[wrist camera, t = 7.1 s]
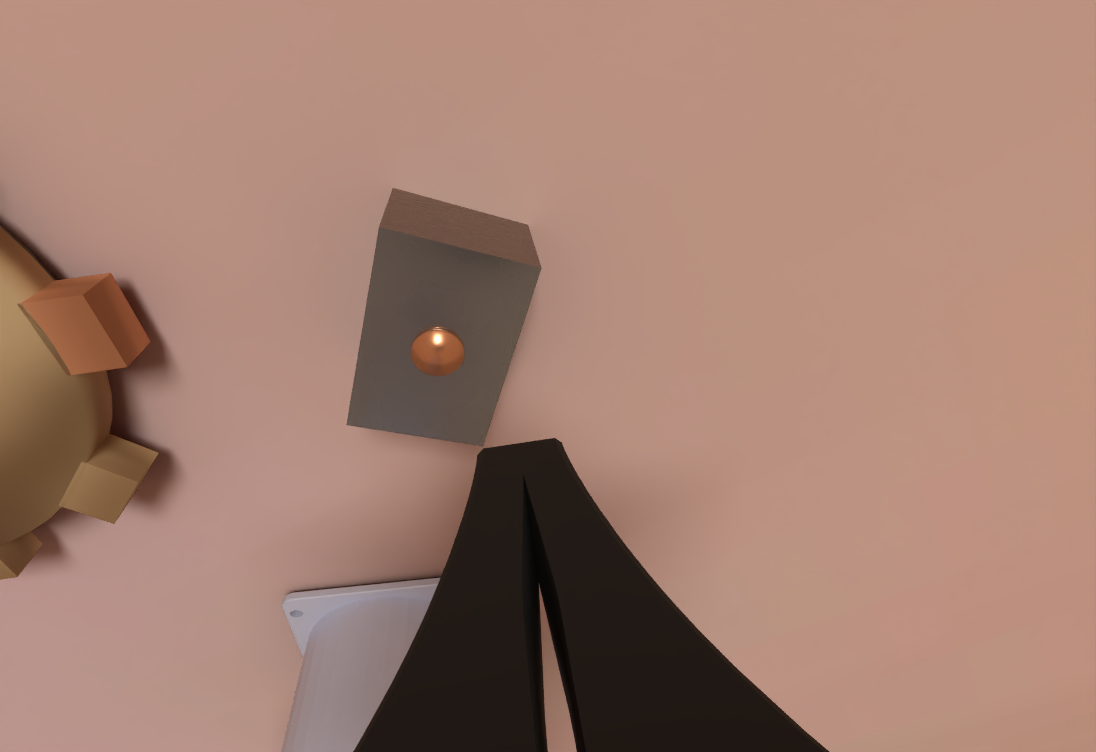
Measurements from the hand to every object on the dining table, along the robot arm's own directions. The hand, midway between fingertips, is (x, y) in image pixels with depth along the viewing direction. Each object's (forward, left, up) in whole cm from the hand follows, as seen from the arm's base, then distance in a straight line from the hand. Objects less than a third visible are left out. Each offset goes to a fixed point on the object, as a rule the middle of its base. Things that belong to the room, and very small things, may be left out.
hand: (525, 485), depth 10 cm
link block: (-1, +2, -10) cm, 10 cm away
